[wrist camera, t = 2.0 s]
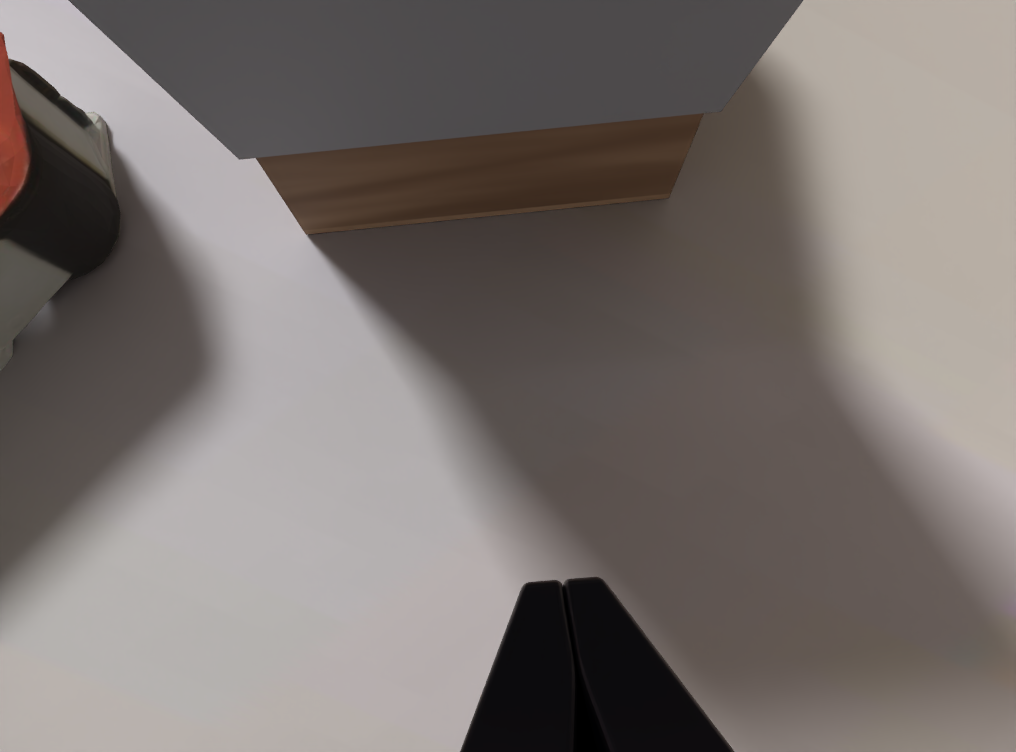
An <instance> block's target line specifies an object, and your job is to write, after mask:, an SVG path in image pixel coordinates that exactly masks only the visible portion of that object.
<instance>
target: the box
mask: <svg viewBox="0 0 1016 752" xmlns="http://www.w3.org/2000/svg"><path fill="white" fill-rule="evenodd" d="M703 114H704V113H701V114H691V115H681V116H671V117H661V118H651V119H641V120H631V121H621V122H611V123H601V124H591V125H581V126H571V127H560V128H550V129H540V130H530V131H520V132H510V133H500V134H490V135H480V136H470V137H460V138H450V139H440V140H430V141H420V142H410V143H400V144H390V145H380V146H370V147H360V148H350V149H340V150H330V151H320V152H310V153H300V154H290V155H280V156H270V157H260V158H256V159H257V161H258V162H259V164H260V165H261V167H262V168H263V170H264V171H265V173H266V174H267V176H268V177H269V179H270V180H271V182H272V183H273V185H274V186H275V188H276V190H277V191H278V193H279V194H280V196H281V197H282V199H283V200H284V202H285V203H286V205H287V206H288V208H289V209H290V211H291V212H292V214H293V215H294V217H295V218H296V220H297V222H298V223H299V225H300V226H301V228H302V229H303V231H304V232H305V234H306V235H307V234H317V233H326V232H336V231H346V230H356V229H366V228H376V227H386V226H396V225H406V224H416V223H426V222H436V221H446V220H456V219H466V218H476V217H485V216H495V215H505V214H515V213H525V212H535V211H545V210H555V209H565V208H575V207H585V206H595V205H605V204H615V203H625V202H635V201H644V200H654V199H664V198H669V196H670V194H671V191H672V189H673V186H674V184H675V182H676V179H677V177H678V174H679V172H680V170H681V167H682V165H683V162H684V160H685V158H686V155H687V153H688V150H689V148H690V146H691V143H692V141H693V138H694V136H695V133H696V131H697V129H698V126H699V124H700V121H701V119H702V117H703Z"/></svg>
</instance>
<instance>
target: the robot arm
mask: <svg viewBox="0 0 1016 752" xmlns="http://www.w3.org/2000/svg"><path fill="white" fill-rule="evenodd" d="M460 752H734V750H733V749H732V748H731V746H730V745H729V744H728V743H727V741H726V740H725V739H724V737H723V736H722V735H721V733H720V732H719V731H718V729H717V728H716V727H715V725H714V724H713V723H712V722H711V720H710V719H709V718H708V716H707V715H706V714H705V712H704V711H703V710H702V708H701V707H700V706H699V704H698V703H697V702H696V700H695V699H694V698H693V697H692V695H691V694H690V693H689V691H688V690H687V689H686V687H685V686H684V685H683V683H682V682H681V681H680V679H679V678H678V677H677V676H676V674H675V673H674V672H673V670H672V669H671V668H670V666H669V665H668V664H667V662H666V661H665V660H664V658H663V657H662V656H661V655H660V653H659V652H658V651H657V649H656V648H655V647H654V645H653V644H652V643H651V641H650V640H649V639H648V637H647V636H646V635H645V633H644V632H643V631H642V630H641V628H640V627H639V626H638V624H637V623H636V622H635V620H634V619H633V618H632V616H631V615H630V614H629V612H628V611H627V610H626V609H625V607H624V606H623V605H622V603H621V602H620V601H619V599H618V598H617V597H616V595H615V594H614V593H613V591H612V590H611V589H610V587H609V586H608V585H607V584H606V582H605V581H604V580H603V579H601V578H599V577H588V578H575V579H568V580H566V581H565V582H564V584H563V586H562V584H561V582H559V581H558V580H550V581H537V582H528V583H526V584H524V585H523V587H522V588H521V591H520V593H519V596H518V599H517V601H516V604H515V607H514V609H513V612H512V615H511V617H510V620H509V623H508V625H507V628H506V631H505V633H504V636H503V639H502V641H501V644H500V647H499V649H498V652H497V655H496V657H495V660H494V663H493V665H492V668H491V671H490V673H489V676H488V679H487V681H486V684H485V687H484V689H483V692H482V695H481V697H480V700H479V703H478V705H477V708H476V711H475V713H474V716H473V719H472V721H471V724H470V727H469V729H468V732H467V735H466V737H465V740H464V743H463V745H462V748H461V751H460Z"/></svg>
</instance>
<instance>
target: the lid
mask: <svg viewBox="0 0 1016 752" xmlns="http://www.w3.org/2000/svg"><path fill="white" fill-rule="evenodd" d="M69 1H70V2H71V3H72V4H73V5H74V6H75V7H76V8H77V9H78V10H79V11H80V12H82V13H83V14H84V15H85V16H86V17H87V18H88V19H89V20H90V21H91V22H92V23H93V24H94V25H95V26H97V27H98V28H99V29H100V30H101V31H102V32H103V33H104V34H105V35H106V36H107V37H108V38H109V39H111V40H112V41H113V42H114V43H115V44H116V45H117V46H118V47H119V48H120V49H121V50H122V51H123V52H124V53H126V54H127V55H128V56H129V57H130V58H131V59H132V60H133V61H134V62H135V63H136V64H137V65H138V66H139V67H141V68H142V69H143V70H144V71H145V72H146V73H147V74H148V75H149V76H150V77H151V78H152V79H153V80H155V81H156V82H157V83H158V84H159V85H160V86H161V87H162V88H163V89H164V90H165V91H166V92H167V93H168V94H170V95H171V96H172V97H173V98H174V99H175V100H176V101H177V102H178V103H179V104H180V105H181V106H182V107H183V108H185V109H186V110H187V111H188V112H189V113H190V114H191V115H192V116H193V117H194V118H195V119H196V120H197V121H199V122H200V123H201V124H202V125H203V126H204V127H205V128H206V129H207V130H208V131H209V132H210V133H211V134H212V135H214V136H215V137H216V138H217V139H218V140H219V141H220V142H221V143H222V144H223V145H224V146H225V147H226V148H228V149H229V150H230V151H231V152H232V153H233V154H234V155H235V156H236V157H237V158H238V159H239V160H240V159H250V158H260V157H270V156H280V155H290V154H300V153H310V152H320V151H330V150H340V149H350V148H360V147H370V146H380V145H390V144H400V143H410V142H420V141H430V140H440V139H450V138H460V137H470V136H480V135H490V134H500V133H510V132H520V131H530V130H540V129H550V128H560V127H571V126H581V125H591V124H601V123H611V122H621V121H631V120H641V119H651V118H661V117H671V116H681V115H691V114H701V113H711V112H721V111H722V109H723V108H724V107H725V105H726V104H727V103H728V101H729V100H730V99H731V97H732V96H733V95H734V93H735V92H736V90H737V89H738V88H739V86H740V85H741V84H742V82H743V81H744V80H745V78H746V77H747V76H748V74H749V73H750V72H751V70H752V69H753V68H754V66H755V65H756V63H757V62H758V61H759V59H760V58H761V57H762V55H763V54H764V53H765V51H766V50H767V49H768V47H769V46H770V45H771V43H772V42H773V41H774V39H775V38H776V37H777V35H778V34H779V32H780V31H781V30H782V28H783V27H784V26H785V24H786V23H787V22H788V20H789V19H790V18H791V16H792V15H793V14H794V12H795V11H796V10H797V8H798V7H799V6H800V4H801V3H802V1H803V0H69Z"/></svg>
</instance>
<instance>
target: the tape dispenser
mask: <svg viewBox="0 0 1016 752" xmlns="http://www.w3.org/2000/svg"><path fill="white" fill-rule="evenodd" d="M119 229H120V210H119V205H118V201H117V197H116V190H115V184H114V178H113V171H112V163H111V154H110V146H109V139H108V132H107V126H106V122H105V121H104V120H103V118H102V117H101V116H99V115H98V114H96V113H95V112H89V113H85V112H84V111H83V110H81V109H80V108H78V107H76V106H75V105H73V104H72V103H71V102H69V101H68V100H67V99H65V98H64V97H62V96H61V95H60V94H59V93H58V91H57V90H56V89H55V88H54V87H53V86H52V85H51V84H49V83H48V82H47V81H46V80H45V79H43V78H42V77H41V76H40V75H39V74H37V73H36V72H35V71H34V70H32V69H31V68H29V67H28V66H26V65H25V64H24V63H21V62H18V61H15V60H12V59H8V55H7V51H6V47H5V40H4V34H2V33H1V32H0V371H1V370H2V369H3V368H4V367H5V366H6V364H7V363H8V362H9V360H10V359H11V358H12V356H13V339H14V338H15V337H16V336H17V335H18V334H19V333H20V332H21V331H22V330H23V329H24V328H25V327H26V326H27V325H28V323H29V322H30V321H31V320H32V319H33V318H34V317H35V315H36V314H37V313H38V312H39V311H40V310H41V308H42V307H43V306H44V305H45V304H46V303H47V302H48V300H49V299H50V298H51V297H52V296H53V295H54V294H55V293H56V292H57V291H58V290H59V289H60V288H61V287H62V286H63V284H64V283H65V282H66V281H67V280H69V279H73V278H76V277H79V276H81V275H84V274H86V273H88V272H90V271H91V270H93V269H94V268H96V267H97V266H99V265H100V264H101V263H103V261H104V260H105V259H106V257H107V256H108V255H109V254H110V252H111V250H112V248H113V246H114V245H115V243H116V241H117V239H118V237H119Z"/></svg>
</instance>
